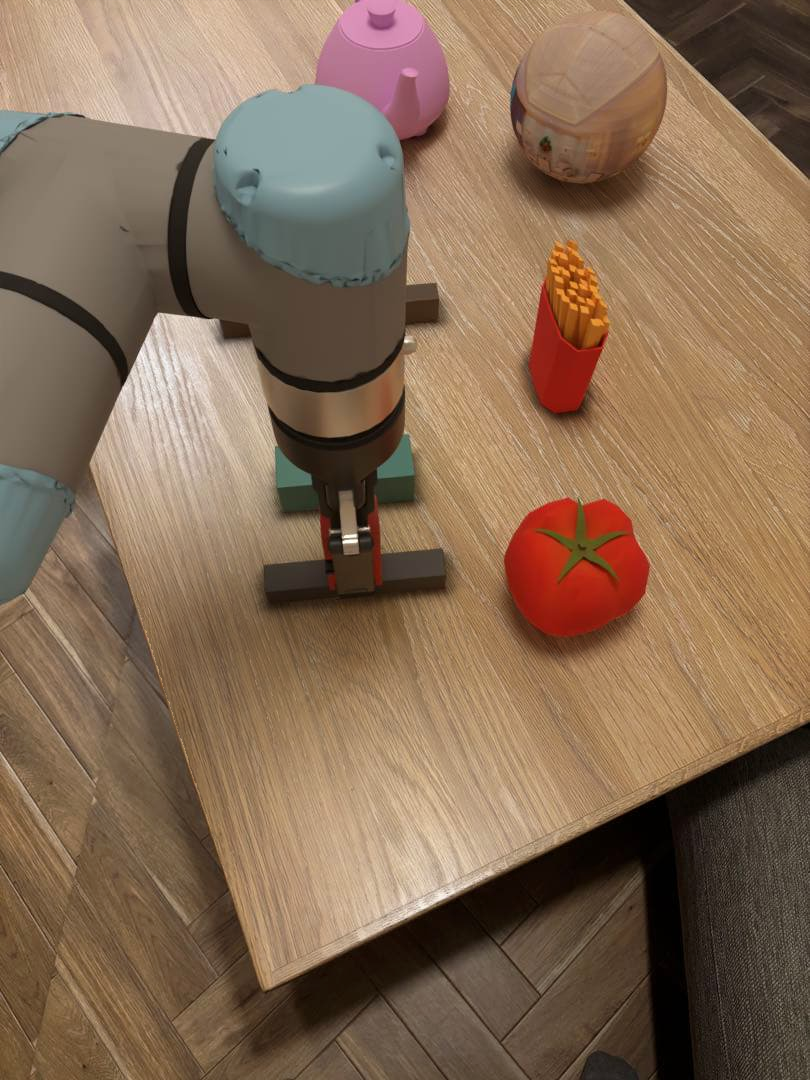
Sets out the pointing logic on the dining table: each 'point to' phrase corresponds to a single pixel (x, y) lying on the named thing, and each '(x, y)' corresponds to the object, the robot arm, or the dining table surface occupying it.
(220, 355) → the dining table surface
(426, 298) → the strip
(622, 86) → the ornament
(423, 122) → the teapot
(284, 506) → the cube
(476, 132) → the dining table surface
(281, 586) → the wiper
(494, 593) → the dining table surface
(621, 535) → the tomato
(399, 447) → the cube
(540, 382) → the french fries
